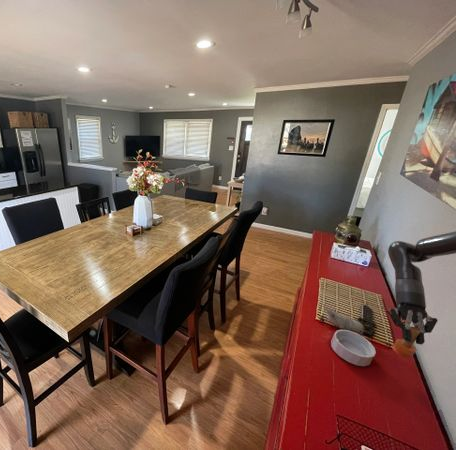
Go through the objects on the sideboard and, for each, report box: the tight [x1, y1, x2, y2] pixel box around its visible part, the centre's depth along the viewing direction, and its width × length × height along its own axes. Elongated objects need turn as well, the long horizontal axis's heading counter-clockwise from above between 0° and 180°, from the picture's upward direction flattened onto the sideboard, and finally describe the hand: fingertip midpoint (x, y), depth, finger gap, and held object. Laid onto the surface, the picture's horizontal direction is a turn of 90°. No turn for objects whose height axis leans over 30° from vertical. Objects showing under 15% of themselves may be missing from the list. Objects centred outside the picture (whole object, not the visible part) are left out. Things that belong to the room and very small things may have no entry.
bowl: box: [330, 329, 377, 367], centre depth 97 cm, size 13×13×6 cm
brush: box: [391, 326, 421, 359], centre depth 85 cm, size 5×5×11 cm
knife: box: [357, 304, 377, 337], centre depth 115 cm, size 25×6×1 cm, turn 135°
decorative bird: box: [321, 306, 365, 336], centre depth 109 cm, size 5×16×7 cm, turn 55°
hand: (413, 342), depth 83 cm, fingers closed on brush, 2 cm apart
